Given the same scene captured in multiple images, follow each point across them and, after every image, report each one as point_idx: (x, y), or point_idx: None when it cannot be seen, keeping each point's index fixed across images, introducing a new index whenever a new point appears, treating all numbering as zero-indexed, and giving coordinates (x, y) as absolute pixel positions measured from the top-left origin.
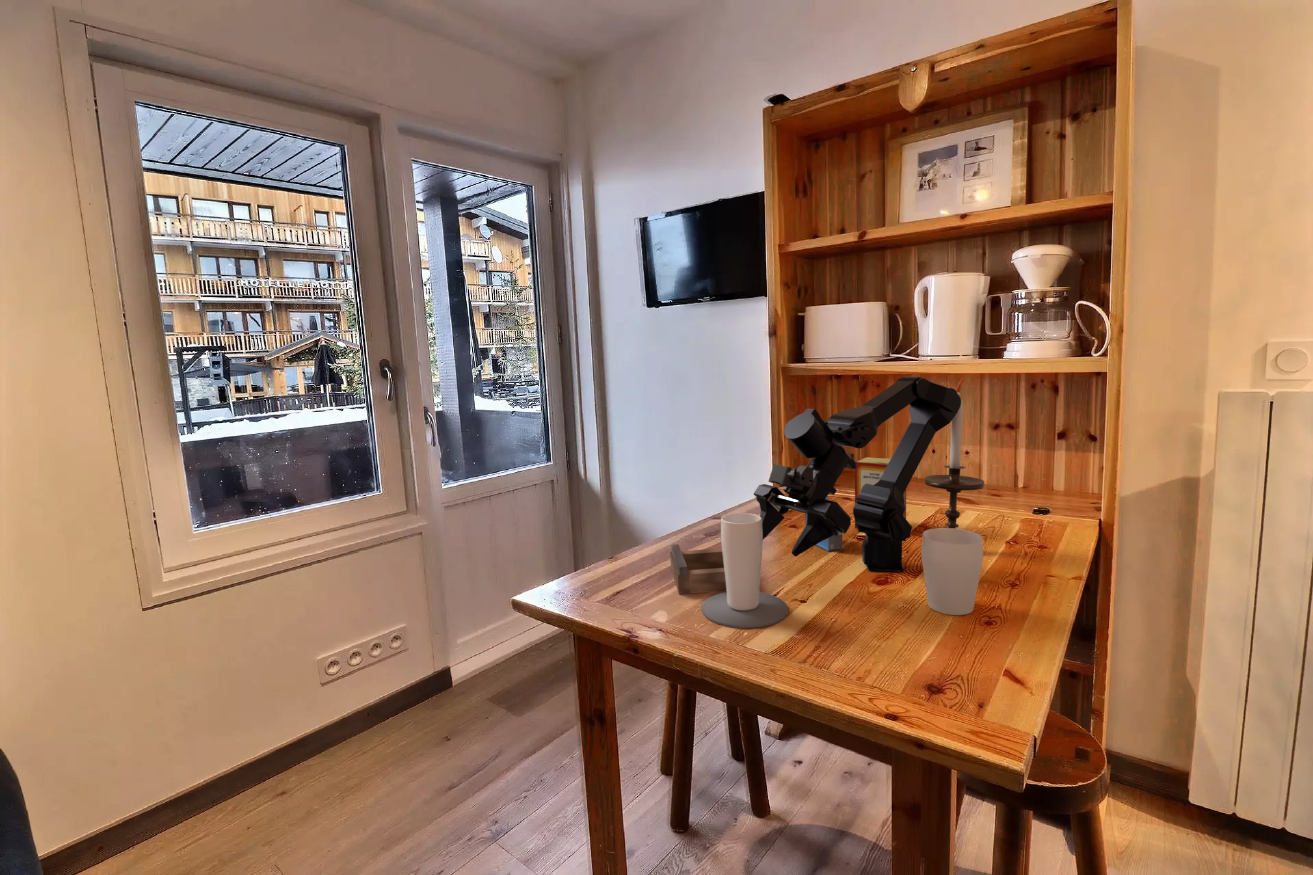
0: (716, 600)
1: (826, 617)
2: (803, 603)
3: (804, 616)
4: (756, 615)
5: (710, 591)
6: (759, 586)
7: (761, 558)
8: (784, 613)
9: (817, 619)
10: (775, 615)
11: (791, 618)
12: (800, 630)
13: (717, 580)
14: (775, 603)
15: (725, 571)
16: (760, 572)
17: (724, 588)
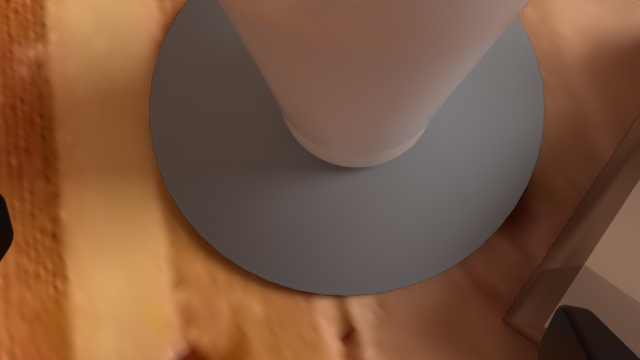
0: (489, 62)
1: (14, 279)
2: (177, 345)
3: (97, 221)
4: (244, 62)
5: (617, 148)
6: (275, 99)
7: (231, 24)
8: (161, 158)
9: (37, 234)
10: (180, 115)
11: (132, 166)
12: (45, 100)
13: (628, 163)
14: (257, 219)
15: None
16: (260, 72)
17: (582, 203)
